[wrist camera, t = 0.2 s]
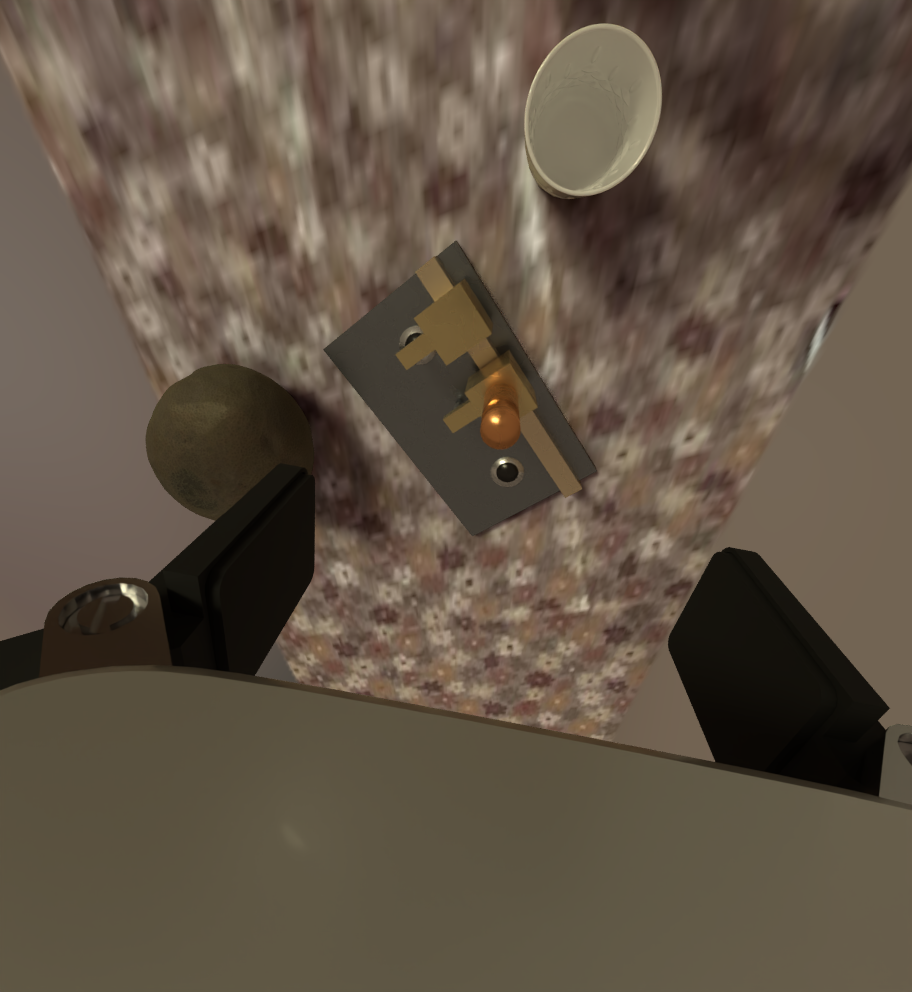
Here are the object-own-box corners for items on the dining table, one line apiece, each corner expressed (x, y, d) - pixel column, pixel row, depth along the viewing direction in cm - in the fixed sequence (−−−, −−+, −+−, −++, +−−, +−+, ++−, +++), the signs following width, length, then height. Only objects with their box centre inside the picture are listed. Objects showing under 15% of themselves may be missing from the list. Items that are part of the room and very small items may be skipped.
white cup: (595, 220, 37) (622, 213, 29) (506, 189, 37) (506, 172, 28) (641, 101, 33) (689, 51, 25) (542, 64, 33) (555, 0, 24)
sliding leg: (440, 392, 44) (415, 448, 32) (508, 345, 41) (510, 387, 29) (465, 427, 46) (451, 493, 34) (533, 384, 43) (544, 439, 31)
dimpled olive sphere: (221, 464, 52) (127, 536, 39) (201, 340, 45) (79, 379, 32) (338, 482, 52) (283, 561, 39) (336, 360, 45) (268, 407, 32)
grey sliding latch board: (326, 347, 44) (293, 366, 38) (456, 240, 39) (446, 240, 32) (472, 531, 54) (468, 574, 47) (595, 467, 48) (610, 504, 41)
